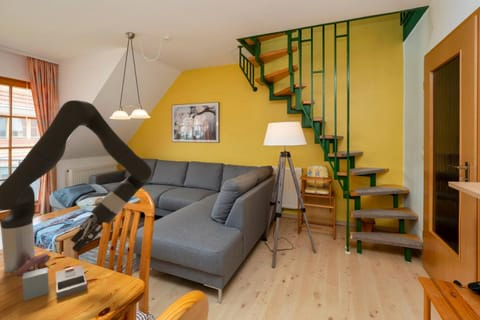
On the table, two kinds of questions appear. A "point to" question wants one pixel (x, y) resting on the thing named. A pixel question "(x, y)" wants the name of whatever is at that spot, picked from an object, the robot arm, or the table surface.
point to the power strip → (70, 281)
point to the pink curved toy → (33, 264)
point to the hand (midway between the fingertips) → (73, 245)
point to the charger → (35, 283)
